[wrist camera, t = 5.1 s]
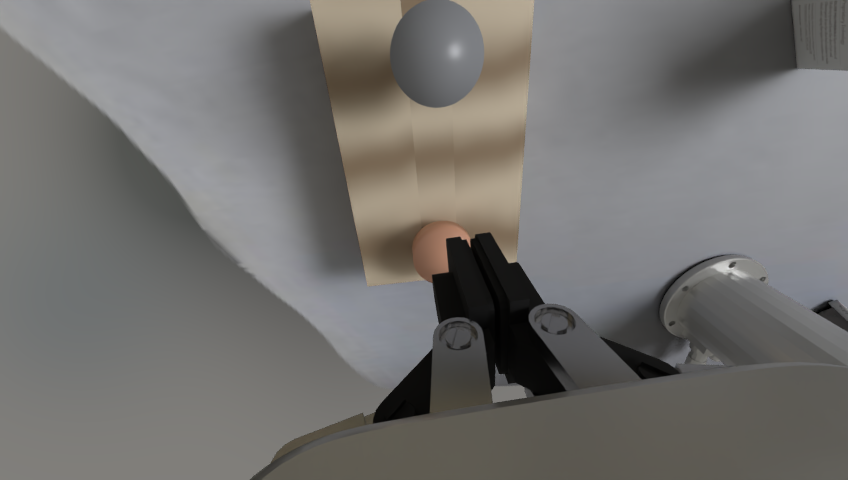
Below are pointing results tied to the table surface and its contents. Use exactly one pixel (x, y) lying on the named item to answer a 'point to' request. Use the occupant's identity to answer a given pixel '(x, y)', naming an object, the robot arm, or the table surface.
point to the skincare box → (821, 34)
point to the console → (425, 132)
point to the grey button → (437, 53)
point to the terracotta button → (434, 247)
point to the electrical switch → (836, 314)
